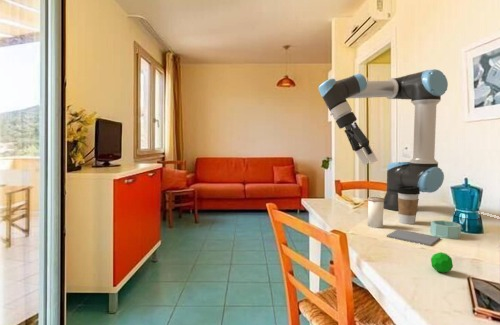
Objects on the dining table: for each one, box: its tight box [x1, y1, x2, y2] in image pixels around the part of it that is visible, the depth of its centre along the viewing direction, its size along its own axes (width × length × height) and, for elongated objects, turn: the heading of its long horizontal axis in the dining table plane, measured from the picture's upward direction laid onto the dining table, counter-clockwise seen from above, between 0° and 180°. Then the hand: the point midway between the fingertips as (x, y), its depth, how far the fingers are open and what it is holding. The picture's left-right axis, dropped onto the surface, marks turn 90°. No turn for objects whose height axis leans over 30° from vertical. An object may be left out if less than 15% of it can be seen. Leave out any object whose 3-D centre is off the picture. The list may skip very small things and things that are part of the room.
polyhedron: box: [430, 252, 454, 274], centre depth 85 cm, size 5×5×5 cm
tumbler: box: [367, 196, 385, 229], centre depth 129 cm, size 6×6×11 cm
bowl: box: [429, 219, 462, 240], centre depth 117 cm, size 9×9×4 cm
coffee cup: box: [397, 186, 421, 225], centre depth 135 cm, size 8×8×15 cm
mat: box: [386, 228, 441, 247], centre depth 114 cm, size 11×14×1 cm
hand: (370, 163), depth 128 cm, fingers open, 13 cm apart
